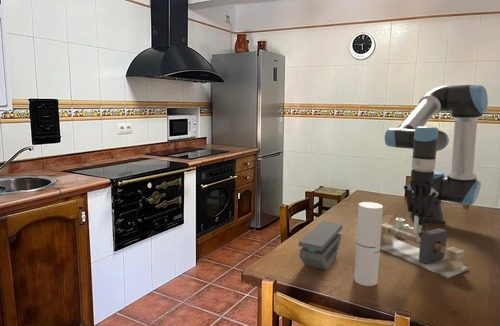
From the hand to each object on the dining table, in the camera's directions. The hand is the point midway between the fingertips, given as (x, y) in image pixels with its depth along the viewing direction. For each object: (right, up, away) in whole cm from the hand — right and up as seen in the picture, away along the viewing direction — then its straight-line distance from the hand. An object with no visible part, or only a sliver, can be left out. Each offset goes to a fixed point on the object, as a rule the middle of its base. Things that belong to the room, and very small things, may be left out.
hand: (417, 232), depth 137 cm
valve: (+7, -6, +23) cm, 25 cm away
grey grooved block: (-36, -10, -4) cm, 38 cm away
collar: (+3, -9, -4) cm, 10 cm away
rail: (0, -9, +1) cm, 9 cm away
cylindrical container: (-25, -12, -18) cm, 33 cm away
